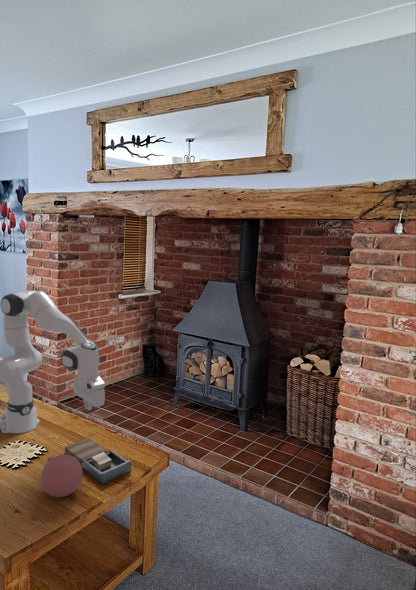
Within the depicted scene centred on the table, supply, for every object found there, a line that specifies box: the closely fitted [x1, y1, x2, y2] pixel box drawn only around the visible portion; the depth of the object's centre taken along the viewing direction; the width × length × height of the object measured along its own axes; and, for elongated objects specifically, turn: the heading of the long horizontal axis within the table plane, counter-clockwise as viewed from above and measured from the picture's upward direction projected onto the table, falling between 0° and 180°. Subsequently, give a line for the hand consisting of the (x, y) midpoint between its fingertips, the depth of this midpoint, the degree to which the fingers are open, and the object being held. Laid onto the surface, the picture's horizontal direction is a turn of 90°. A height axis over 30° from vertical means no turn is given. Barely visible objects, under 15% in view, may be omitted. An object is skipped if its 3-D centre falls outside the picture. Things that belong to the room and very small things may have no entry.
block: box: [91, 452, 111, 470], centre depth 187 cm, size 6×6×3 cm
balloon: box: [40, 453, 84, 498], centre depth 169 cm, size 15×20×15 cm
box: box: [82, 449, 132, 486], centre depth 184 cm, size 16×14×5 cm
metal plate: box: [64, 437, 108, 466], centre depth 196 cm, size 16×12×3 cm
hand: (88, 409), depth 191 cm, fingers closed
